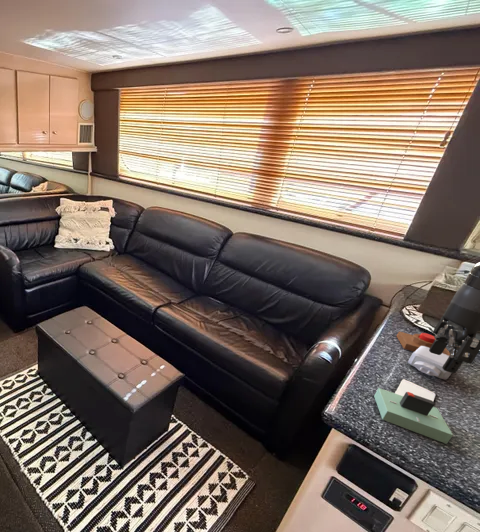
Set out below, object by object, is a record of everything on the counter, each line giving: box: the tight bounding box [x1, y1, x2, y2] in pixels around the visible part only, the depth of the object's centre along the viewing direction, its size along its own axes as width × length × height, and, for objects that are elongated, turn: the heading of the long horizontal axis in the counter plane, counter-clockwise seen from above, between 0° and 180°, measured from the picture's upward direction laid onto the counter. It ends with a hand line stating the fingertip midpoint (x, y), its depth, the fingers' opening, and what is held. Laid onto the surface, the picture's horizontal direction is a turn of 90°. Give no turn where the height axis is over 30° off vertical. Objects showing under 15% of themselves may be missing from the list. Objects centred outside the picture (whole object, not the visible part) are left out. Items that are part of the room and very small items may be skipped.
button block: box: [396, 330, 450, 356], centre depth 114 cm, size 12×10×4 cm
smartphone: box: [394, 378, 436, 402], centre depth 91 cm, size 7×1×15 cm
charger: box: [407, 346, 452, 380], centre depth 102 cm, size 5×9×15 cm
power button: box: [419, 332, 436, 343], centre depth 113 cm, size 4×4×2 cm
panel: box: [373, 387, 454, 445], centre depth 82 cm, size 12×10×3 cm
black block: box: [400, 392, 435, 416], centre depth 81 cm, size 5×2×4 cm, turn 58°
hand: (440, 361), depth 80 cm, fingers open, 8 cm apart
